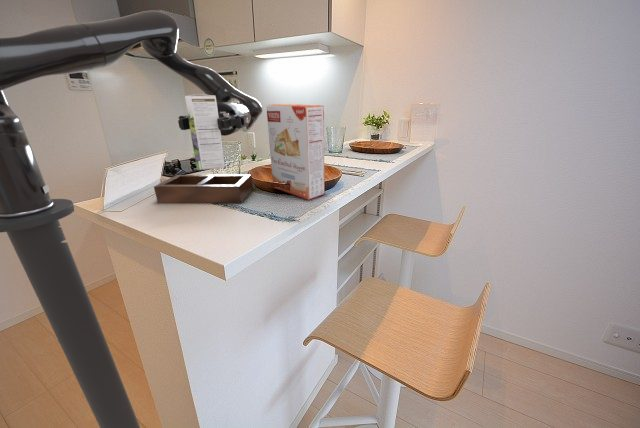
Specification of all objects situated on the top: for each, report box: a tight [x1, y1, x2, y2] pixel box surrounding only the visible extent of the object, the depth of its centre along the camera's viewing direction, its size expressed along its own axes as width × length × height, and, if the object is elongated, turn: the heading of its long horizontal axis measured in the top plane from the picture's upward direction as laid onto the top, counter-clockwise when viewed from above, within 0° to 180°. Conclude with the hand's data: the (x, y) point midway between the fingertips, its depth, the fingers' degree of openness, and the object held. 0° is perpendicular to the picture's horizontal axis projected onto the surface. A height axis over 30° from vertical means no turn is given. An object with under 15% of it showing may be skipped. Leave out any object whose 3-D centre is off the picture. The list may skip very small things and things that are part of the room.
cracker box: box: [265, 103, 326, 201], centre depth 69 cm, size 14×6×21 cm, turn 45°
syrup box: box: [184, 94, 226, 171], centre depth 59 cm, size 6×6×14 cm
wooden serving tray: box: [153, 174, 254, 204], centre depth 70 cm, size 20×11×4 cm, turn 88°
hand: (200, 124), depth 57 cm, fingers closed on syrup box, 7 cm apart
